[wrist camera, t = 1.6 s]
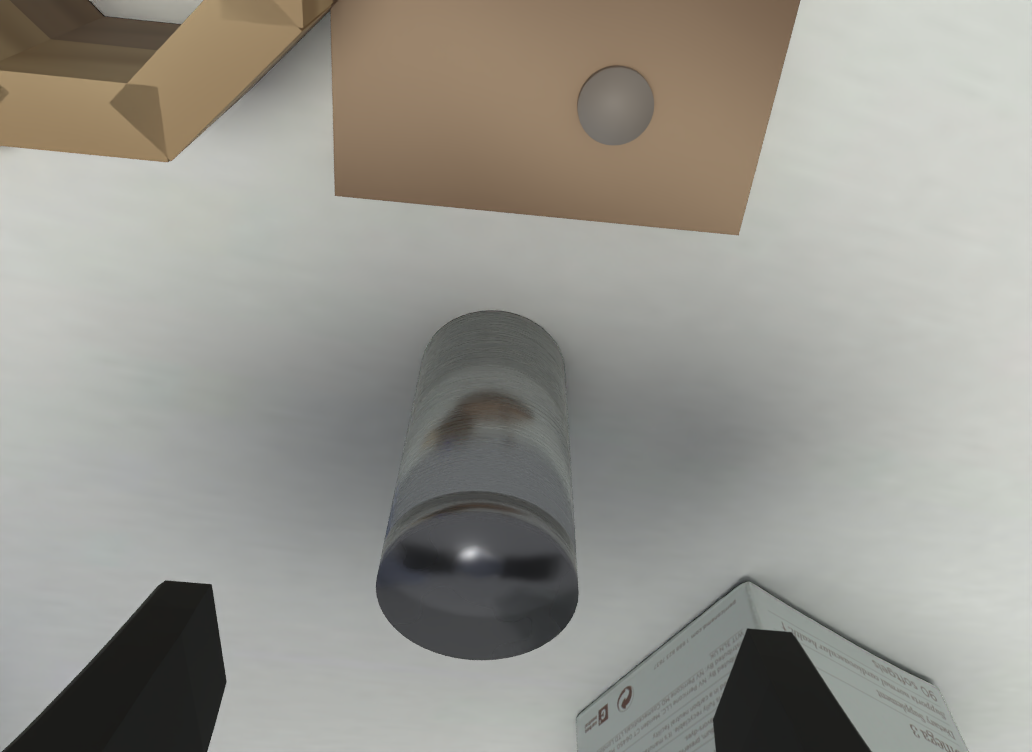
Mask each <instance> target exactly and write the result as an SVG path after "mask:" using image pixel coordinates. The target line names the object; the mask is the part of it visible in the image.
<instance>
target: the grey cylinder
mask: <svg viewBox="0 0 1032 752" xmlns="http://www.w3.org/2000/svg"><path fill="white" fill-rule="evenodd" d="M376 593H377V598H378V602H379V605H380V607H381V609H382V612H383V614H384V615H385V617H386V618H387V619H388V621H389V622H390V623H391V624H392V626H393V627H394V628H395V629H396V630H397V631H399V632H400V633H401V634H402V635H403V636H404V637H406V638H407V639H409V640H410V641H412V642H413V643H415V644H417V645H419V646H421V647H423V648H425V649H428V650H430V651H433V652H435V653H439V654H442V655H445V656H450V657H455V658H460V659H469V660H495V659H503V658H509V657H513V656H517V655H521V654H524V653H527V652H530V651H532V650H534V649H536V648H539V647H541V646H542V645H544V644H546V643H547V642H549V641H551V640H552V639H553V638H554V637H556V636H557V635H558V634H559V633H560V632H561V631H562V630H563V629H564V628H565V627H566V626H567V624H568V623H569V621H570V620H571V618H572V616H573V614H574V612H575V609H576V606H577V603H578V577H577V561H576V545H575V528H574V512H573V495H572V479H571V462H570V446H569V429H568V413H567V397H566V380H565V366H564V361H563V357H562V354H561V352H560V349H559V348H558V346H557V344H556V342H555V341H554V340H553V339H552V337H551V336H550V335H549V334H548V333H547V332H546V331H545V330H544V329H543V328H541V327H540V326H539V325H537V324H536V323H534V322H532V321H531V320H529V319H527V318H524V317H522V316H519V315H516V314H512V313H509V312H502V311H480V312H475V313H470V314H467V315H464V316H461V317H459V318H457V319H455V320H453V321H451V322H449V323H448V324H446V325H445V326H444V327H442V328H441V329H440V330H439V331H438V332H437V333H436V334H435V335H434V336H433V338H432V339H431V341H430V342H429V344H428V345H427V348H426V350H425V352H424V356H423V359H422V364H421V369H420V373H419V378H418V383H417V388H416V393H415V397H414V402H413V407H412V412H411V416H410V421H409V426H408V431H407V436H406V440H405V445H404V450H403V455H402V460H401V464H400V469H399V474H398V479H397V484H396V488H395V493H394V498H393V503H392V508H391V512H390V517H389V522H388V527H387V531H386V536H385V541H384V546H383V551H382V555H381V560H380V565H379V570H378V575H377V581H376Z"/></svg>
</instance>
